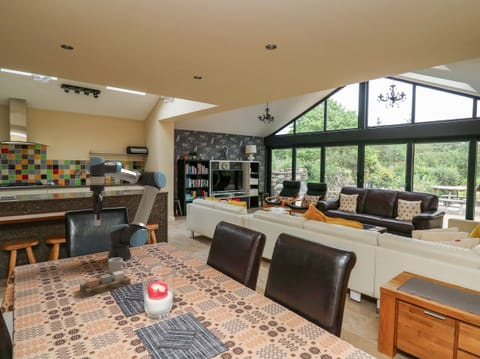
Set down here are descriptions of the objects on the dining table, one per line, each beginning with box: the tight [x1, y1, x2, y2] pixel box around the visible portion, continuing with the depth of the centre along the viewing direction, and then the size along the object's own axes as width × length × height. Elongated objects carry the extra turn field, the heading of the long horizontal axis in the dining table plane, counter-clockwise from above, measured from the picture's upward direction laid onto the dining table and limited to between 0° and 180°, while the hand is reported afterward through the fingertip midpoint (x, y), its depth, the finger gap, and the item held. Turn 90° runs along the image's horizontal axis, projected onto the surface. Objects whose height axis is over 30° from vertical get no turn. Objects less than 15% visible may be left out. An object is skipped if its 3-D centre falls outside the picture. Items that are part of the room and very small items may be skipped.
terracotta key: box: [85, 276, 100, 288], centre depth 144 cm, size 4×4×4 cm
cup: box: [107, 257, 127, 275], centre depth 169 cm, size 11×8×8 cm
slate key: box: [99, 273, 112, 285], centre depth 149 cm, size 4×4×4 cm
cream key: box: [111, 270, 125, 281], centre depth 154 cm, size 4×4×4 cm
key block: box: [79, 274, 132, 298], centre depth 149 cm, size 21×11×3 cm, turn 136°
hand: (97, 225), depth 163 cm, fingers closed
